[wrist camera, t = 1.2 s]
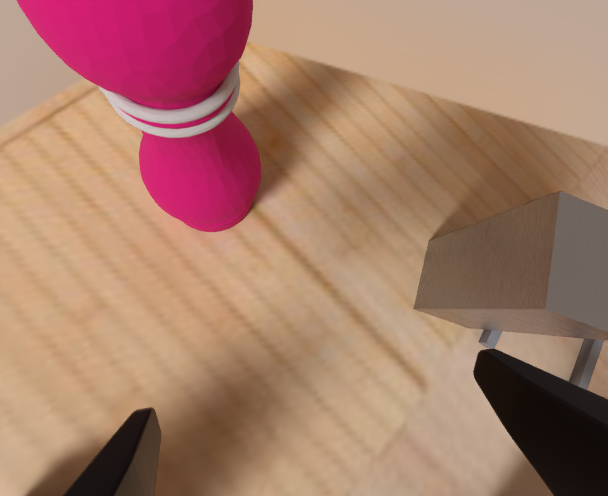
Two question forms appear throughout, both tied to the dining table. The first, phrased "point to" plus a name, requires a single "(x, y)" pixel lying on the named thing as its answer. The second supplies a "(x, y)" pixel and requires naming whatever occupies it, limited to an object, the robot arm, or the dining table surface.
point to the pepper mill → (168, 93)
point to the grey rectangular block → (523, 271)
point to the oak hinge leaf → (583, 363)
